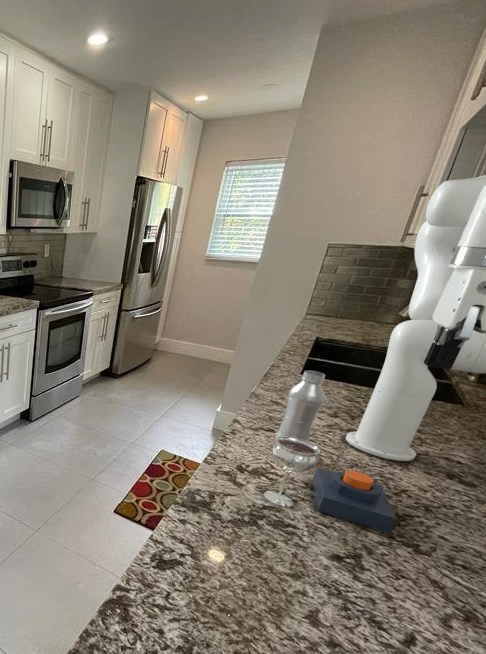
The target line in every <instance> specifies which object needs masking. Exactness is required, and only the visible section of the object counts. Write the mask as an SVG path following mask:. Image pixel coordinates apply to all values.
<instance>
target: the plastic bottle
mask: <svg viewBox="0 0 486 654" xmlns="http://www.w3.org/2000/svg"><path fill="white" fill-rule="evenodd" d="M325 378H326V374H325V373H323V372H321V371H316V370H308V369H307V370H304V372H303V374H302V376H301V381H300V382H298V383H297V384H294V385H293V386H292V387H291V388H290V389H289V390H288V394H287V401H286V408H285V411H284V414H283V415H284V416H283V419H282V422H281V424H280V426H279V428H278V430H277V431H276V433H275V434H274V437H273V439H272V445H273V446H274V445H275V444H276V443H277V441H276V438H277V437H280V436H289V437H295V438H299V439H302V440H305V441H308V442H310V438H311V437H310V436H311V432H312V428H313V424H314V423H315V420H316V418H317V416H318V414H319V412H320V410H321V409H322V407H323V405H324V403H325V401H326V394H325V391H324V389H323V387H322V384H324V382H325V381H324V380H325Z"/></svg>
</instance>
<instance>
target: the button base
mask: <svg viewBox="0 0 486 654" xmlns="http://www.w3.org/2000/svg"><path fill="white" fill-rule="evenodd" d="M345 472H346V471H344V472H342V471H337V472H335V471H331V470H327V469H322V468H319V467H316V470H315V472H314V475H313V478H312V485H313V492H314V497H315V501H316V508H317V511H318V512H321V513H324V514H327V515H331V516H333V517H337V518H340V519H343V520H346V521H349V522H353V523H356V524H359V525H362V526H366V527H369V528H372V529H375V530H379V531H382V532H385V533H388V534H390V533H391V531H392V528H393V526H394V524H395V522H396V520H397V516H396V515H395V512H394V509H393V508H392V506H391V503H390V501H389V499H388V497H387V495H386V492H385V490H384V488H383V486H382V484H378V483H377V482H373V484H372V486H371V488H370V490H362V489H358V488H354V487H352V486H350V485H348V484H346V483H345V482H344V481H343V477H344V475H345Z"/></svg>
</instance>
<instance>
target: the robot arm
mask: <svg viewBox="0 0 486 654" xmlns="http://www.w3.org/2000/svg"><path fill="white" fill-rule="evenodd" d="M414 261H415V262H414V263H415V265H416V269H417V279H416V281H415V286H414V289H413V292H412V295H411V298H410V301H409V306H408V312H407V313H408V316H409V318H410V319H409V320H405V321H403V322H400V323H398V324H397V325H396V326H395V327H394V328H393V330H392V332H391V334H390V336H389V342H388V347H387V351H386V356H385V358H384V359H385V360H384V363H383V365H382V369H381V371H380V374H379V376H378V379H377V382H376V384H375V387H374V389H373V391H372V394H371V396H370V398H369V401H368V403H367V406H366V408H365V411H364V413H363V415H362V417H361V421H360V423H359V425H358V428H357V430H356V431H350V432H348V433H347V434H346V436H345V441H346V442H347V443H348V444H349V445H350V446H352V447H354V448H356V449H357V450H360V451H361V452H365V453H366V454H369V455H373V456H376V457H379V458H382V459H385V460H386V459H387V460H392V461H397V462H410V461H413V460H415V458H416V456H417V453H416V450H414V449H413V447H410V446H411V444H412V442H413V440H414V438H415V436H416V434H417V431H418V429H419V428H420V425H421V423H422V421H423V419H424V417H425V415H426V412H427V411H428V408H429V406H430V404H431V402H432V399H433V398H434V396H435V394H436V391H437V388H438V387H437V386H438V385H437V384H438V383H437V381H436V378H435V377H434V375H433V373H432V372H431V371H430V369H429V368H428V367H430V368H436V369H444V370H456V371H459V372H460V371H461V372H467V373H474V374H486V174H483V175H480V176H476V177H469V178H461V179H460V178H459V179H450V180H446V181H445V180H444V181H443V182H442V183H441V184H440V185H438V186H437V188H436V189H435V191H433V193H432V194H431V197H430V199H429V200H428V203H427V206H426V209H425V221H424V222H423V223H422V225H421V226H420V228H419V230H418V233H417V235H416V238H415V243H414Z"/></svg>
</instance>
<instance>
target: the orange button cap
mask: <svg viewBox="0 0 486 654" xmlns="http://www.w3.org/2000/svg"><path fill="white" fill-rule="evenodd" d="M344 472H345V475H344V477H343V481H344V482H345V483H346V484H348V485H350V486H352V487H354V488H358V489H362V490H370V488H371V486H372V484H373V482H374V479H373V478H372V477H370V476H369V475H367V474H366V473H363V472H359V471H356V470H346V471H344ZM374 483H375V482H374Z"/></svg>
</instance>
